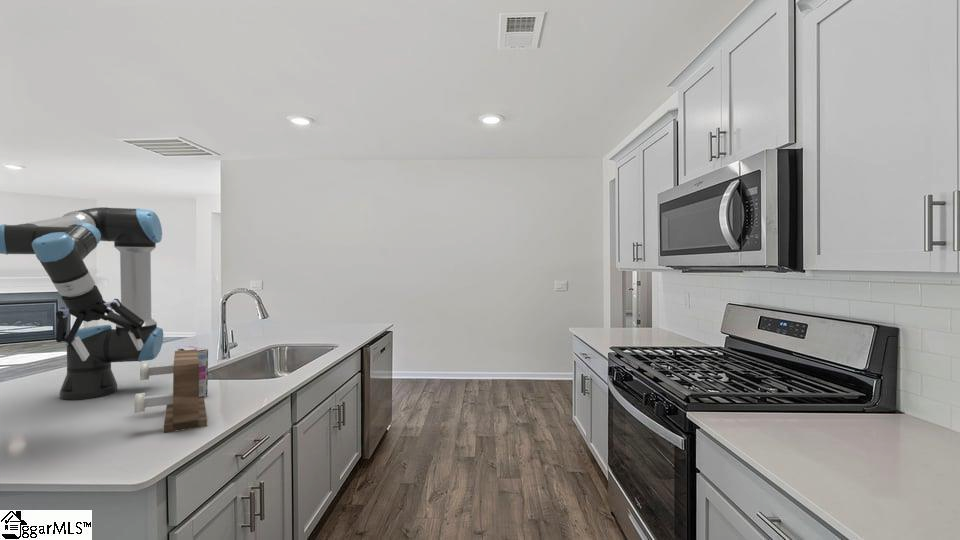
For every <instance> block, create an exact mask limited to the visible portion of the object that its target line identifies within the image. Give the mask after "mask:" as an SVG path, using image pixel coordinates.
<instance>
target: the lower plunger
mask: <svg viewBox="0 0 960 540" xmlns="http://www.w3.org/2000/svg"><path fill="white" fill-rule="evenodd" d="M134 395H135V396H134V413H135V414H136V413H142V412H143V413H144V412H145V411H146V408H152V407H158V406H159V407H160V406H167V405H169V404H173V392H172V393H164V394H155V395H148V396H146V392H141V393H135V394H134Z"/></svg>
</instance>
